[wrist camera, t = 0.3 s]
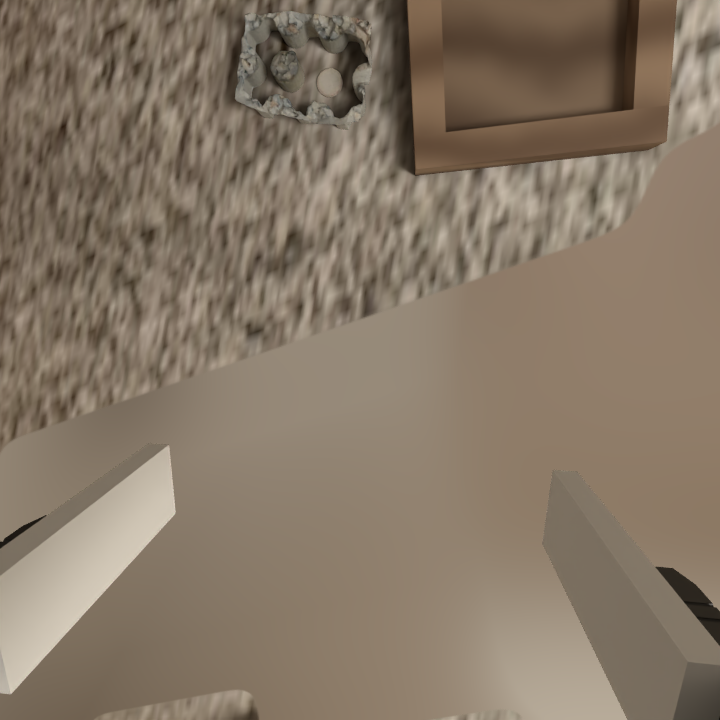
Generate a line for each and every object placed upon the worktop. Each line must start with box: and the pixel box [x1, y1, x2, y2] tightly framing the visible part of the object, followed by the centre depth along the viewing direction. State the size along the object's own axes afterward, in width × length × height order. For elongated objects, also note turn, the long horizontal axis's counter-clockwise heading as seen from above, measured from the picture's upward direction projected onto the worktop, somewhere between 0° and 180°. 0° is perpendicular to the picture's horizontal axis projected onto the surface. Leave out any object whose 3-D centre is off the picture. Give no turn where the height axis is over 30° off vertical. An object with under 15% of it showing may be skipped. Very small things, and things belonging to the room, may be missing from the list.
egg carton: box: [235, 11, 372, 130], centre depth 34 cm, size 11×8×4 cm
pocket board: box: [406, 0, 677, 176], centre depth 32 cm, size 17×19×2 cm
